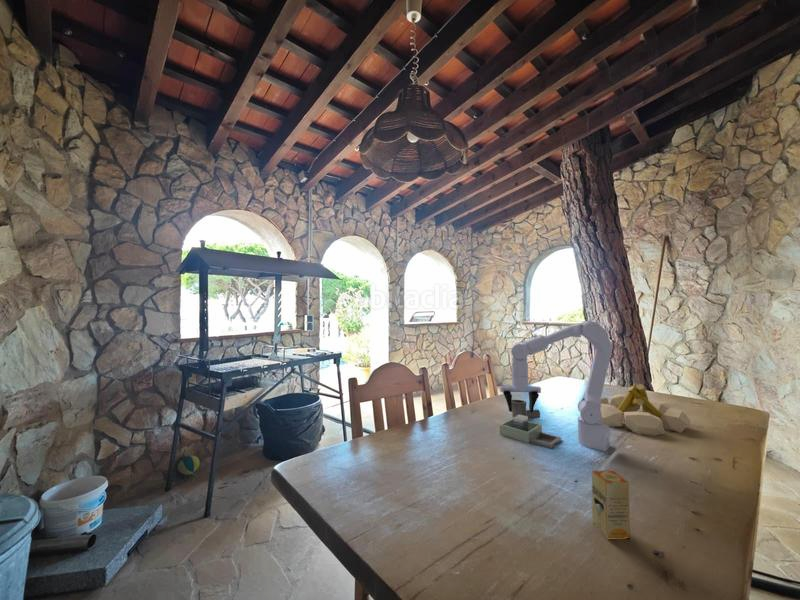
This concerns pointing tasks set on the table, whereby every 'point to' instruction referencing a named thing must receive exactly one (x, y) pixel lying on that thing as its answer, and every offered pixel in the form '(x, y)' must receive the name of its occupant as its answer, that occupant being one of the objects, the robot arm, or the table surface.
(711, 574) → the table surface
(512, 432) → the bin
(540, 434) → the socket block
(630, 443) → the table surface
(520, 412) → the pipe
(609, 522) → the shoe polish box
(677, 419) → the campfire
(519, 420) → the grey plug block
